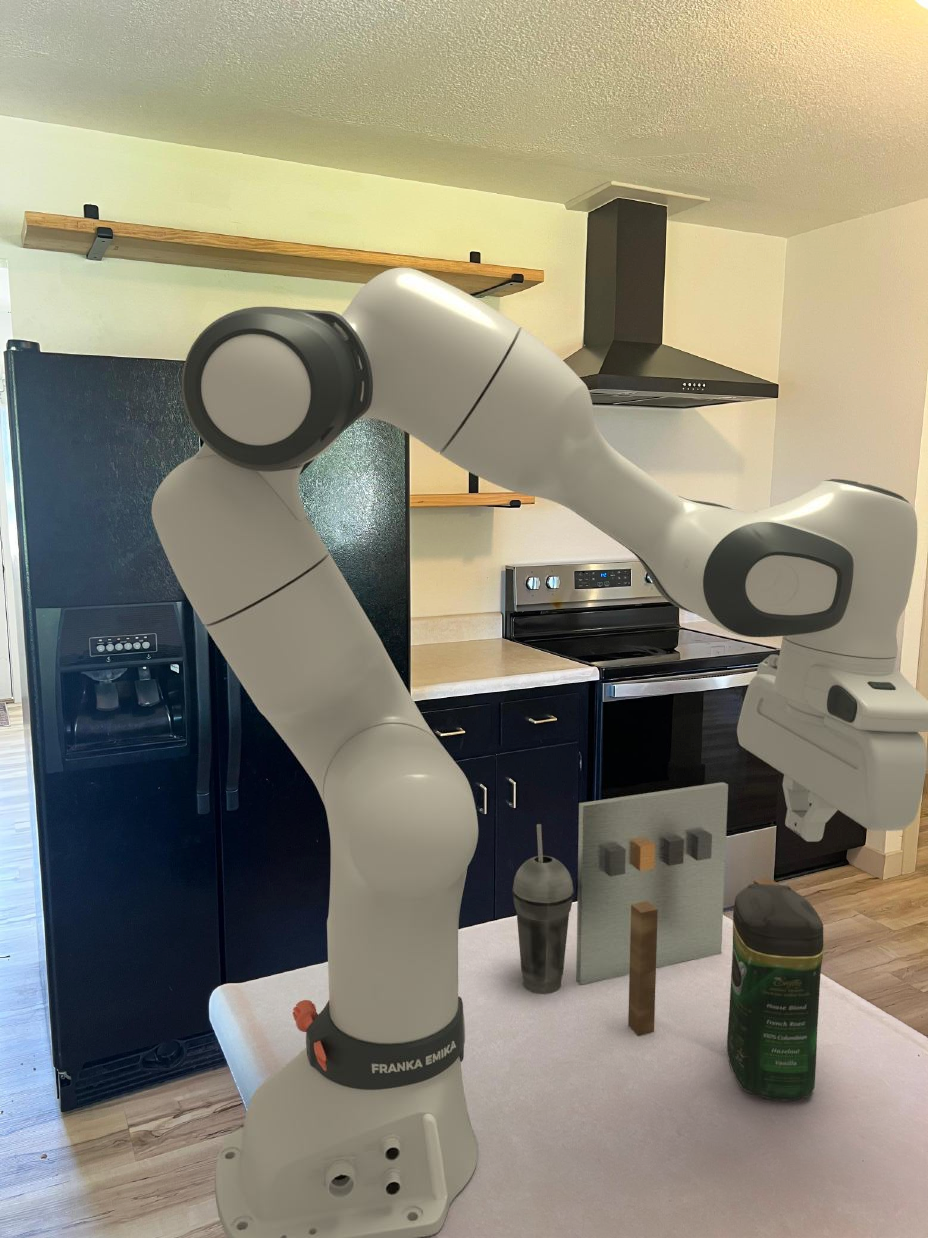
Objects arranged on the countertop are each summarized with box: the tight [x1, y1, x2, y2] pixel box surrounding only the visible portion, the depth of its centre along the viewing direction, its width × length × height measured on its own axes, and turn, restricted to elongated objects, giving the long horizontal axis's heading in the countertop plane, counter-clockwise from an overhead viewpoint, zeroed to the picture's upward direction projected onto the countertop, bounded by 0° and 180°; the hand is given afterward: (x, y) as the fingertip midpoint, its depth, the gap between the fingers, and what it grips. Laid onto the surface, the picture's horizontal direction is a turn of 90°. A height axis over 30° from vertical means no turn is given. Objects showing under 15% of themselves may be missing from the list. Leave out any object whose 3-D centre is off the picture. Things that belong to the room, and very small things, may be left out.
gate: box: [627, 877, 781, 1037], centre depth 99 cm, size 18×2×14 cm, turn 111°
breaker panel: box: [575, 781, 729, 986], centre depth 107 cm, size 20×2×22 cm, turn 111°
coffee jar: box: [726, 883, 824, 1101], centre depth 88 cm, size 10×8×19 cm
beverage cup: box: [511, 823, 575, 995], centre depth 104 cm, size 7×7×20 cm
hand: (802, 834), depth 77 cm, fingers closed
